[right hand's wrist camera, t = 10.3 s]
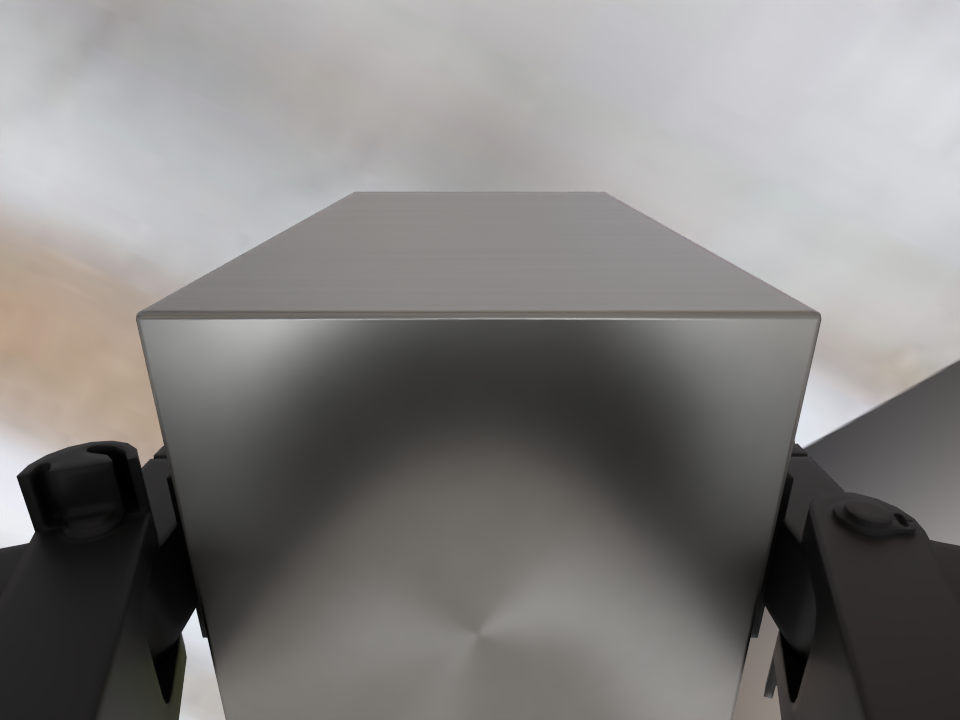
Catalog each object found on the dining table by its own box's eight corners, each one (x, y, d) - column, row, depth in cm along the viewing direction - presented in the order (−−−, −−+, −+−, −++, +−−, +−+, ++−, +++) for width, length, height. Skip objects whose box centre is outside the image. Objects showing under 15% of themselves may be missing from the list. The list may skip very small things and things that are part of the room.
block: (352, 191, 15) (129, 312, 6) (606, 191, 15) (827, 312, 6) (373, 459, 18) (251, 845, 9) (586, 460, 18) (706, 845, 9)
